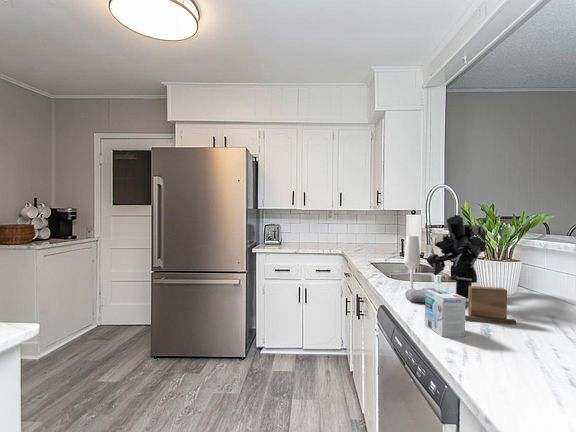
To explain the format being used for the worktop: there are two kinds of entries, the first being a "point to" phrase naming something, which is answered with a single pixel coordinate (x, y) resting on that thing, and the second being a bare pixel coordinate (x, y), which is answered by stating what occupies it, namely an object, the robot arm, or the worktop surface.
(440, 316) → the light bulb box
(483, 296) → the light brown wooden block
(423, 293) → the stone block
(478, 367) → the worktop surface
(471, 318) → the grey rectangular bar
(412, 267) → the champagne flute
